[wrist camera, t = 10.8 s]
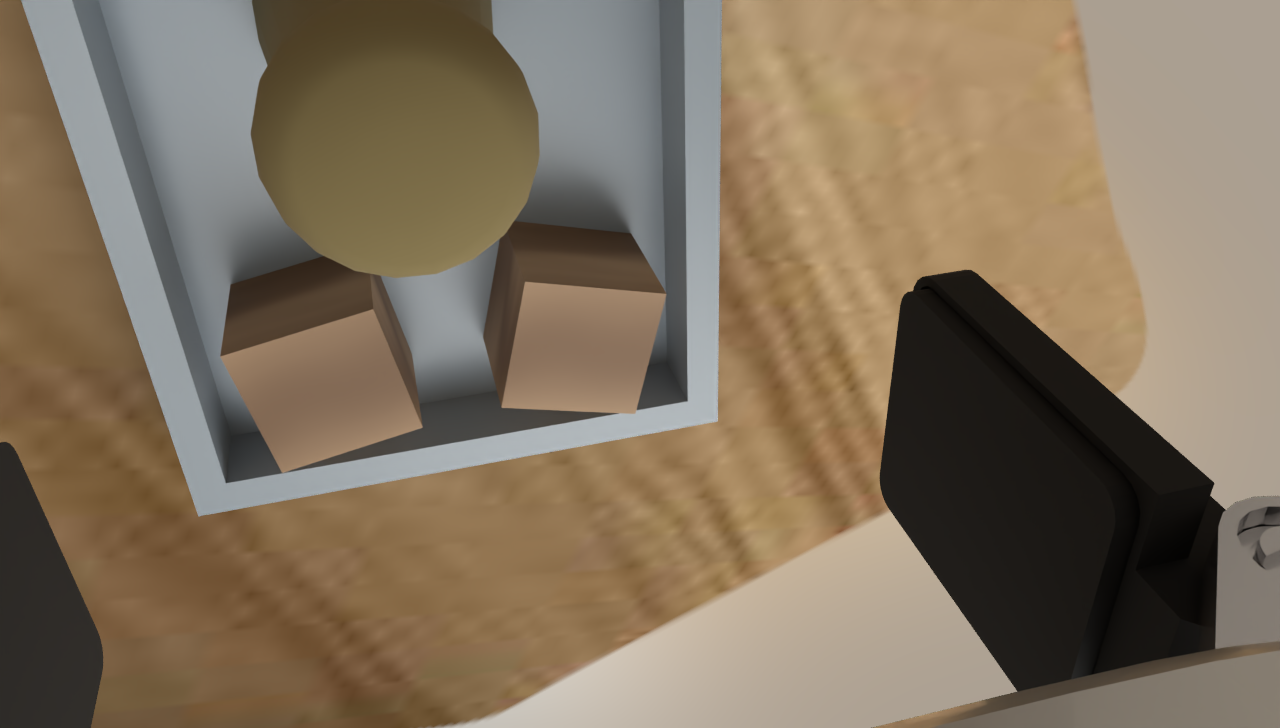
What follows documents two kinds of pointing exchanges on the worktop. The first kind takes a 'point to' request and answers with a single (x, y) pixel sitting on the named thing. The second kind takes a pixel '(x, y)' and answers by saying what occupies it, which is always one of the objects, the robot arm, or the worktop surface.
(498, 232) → the cork
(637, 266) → the walnut block
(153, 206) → the tray
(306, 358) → the walnut block
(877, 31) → the worktop surface
